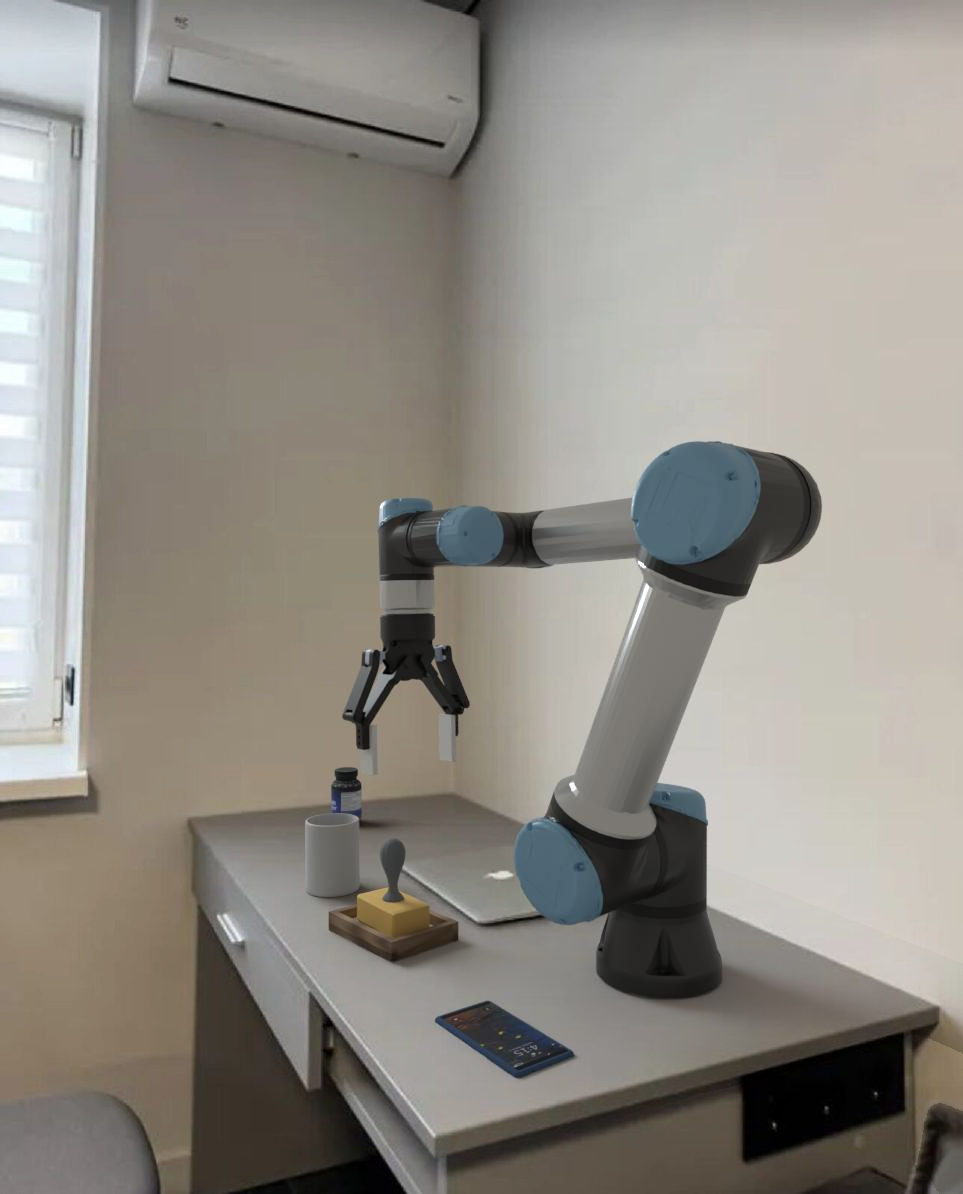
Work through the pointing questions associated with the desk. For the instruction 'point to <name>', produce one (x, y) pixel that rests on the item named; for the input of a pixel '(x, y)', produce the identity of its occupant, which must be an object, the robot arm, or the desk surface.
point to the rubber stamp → (392, 899)
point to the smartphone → (504, 1038)
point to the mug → (332, 855)
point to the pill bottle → (346, 792)
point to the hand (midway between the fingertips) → (409, 767)
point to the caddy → (388, 947)
